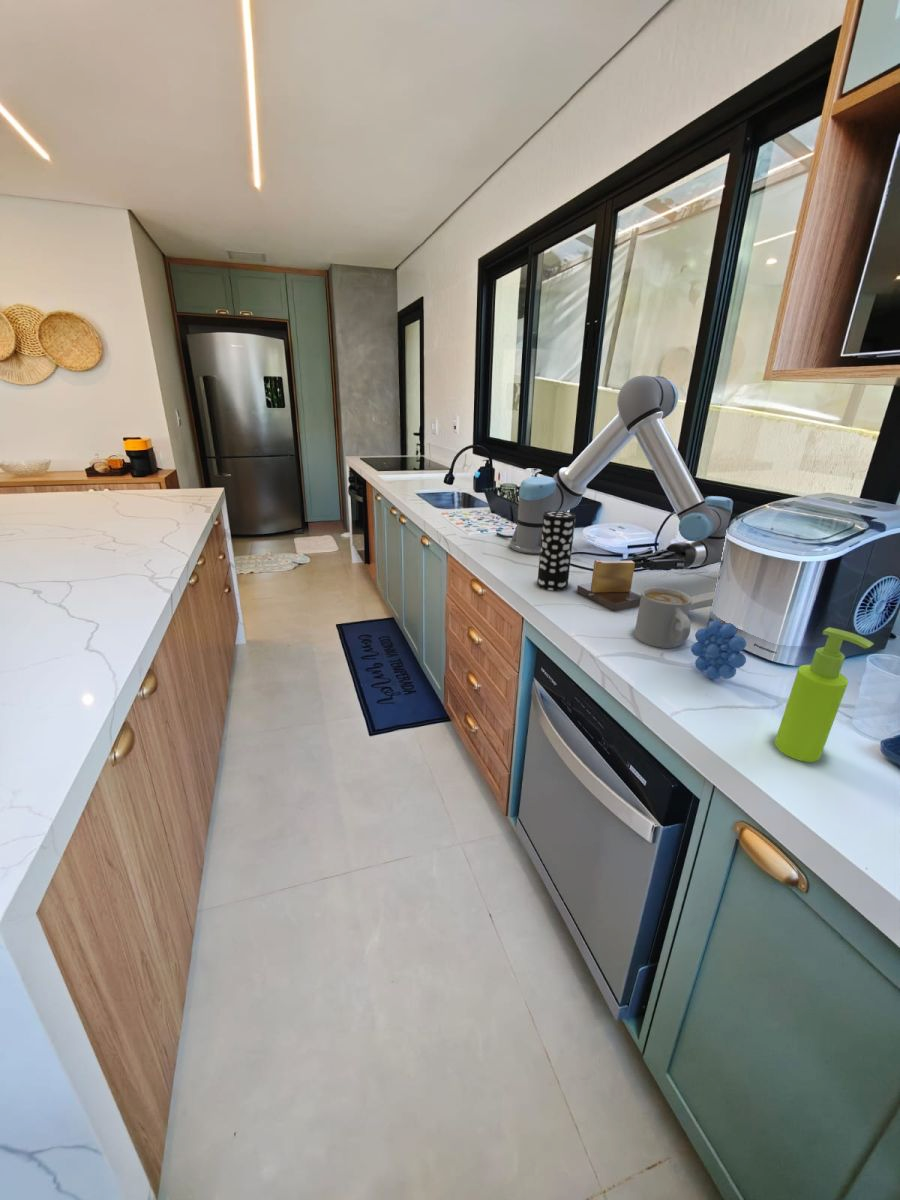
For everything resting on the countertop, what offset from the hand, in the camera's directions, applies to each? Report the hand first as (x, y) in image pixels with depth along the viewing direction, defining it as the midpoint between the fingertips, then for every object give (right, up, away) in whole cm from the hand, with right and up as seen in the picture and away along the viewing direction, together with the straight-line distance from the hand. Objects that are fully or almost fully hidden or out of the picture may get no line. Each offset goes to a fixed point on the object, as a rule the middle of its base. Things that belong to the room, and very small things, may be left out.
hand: (621, 565), depth 133 cm
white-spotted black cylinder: (-17, -5, +7) cm, 19 cm away
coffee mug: (+1, -18, -24) cm, 30 cm away
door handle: (+19, -13, -10) cm, 25 cm away
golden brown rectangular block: (-4, -7, -2) cm, 8 cm away
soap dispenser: (+8, -32, -57) cm, 66 cm away
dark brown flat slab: (-4, -9, -1) cm, 10 cm away
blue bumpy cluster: (+5, -24, -38) cm, 45 cm away
